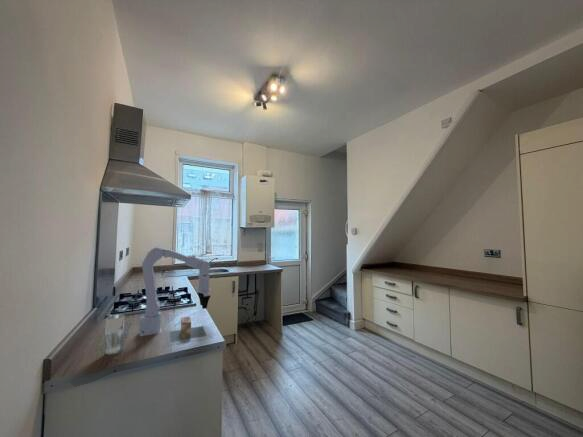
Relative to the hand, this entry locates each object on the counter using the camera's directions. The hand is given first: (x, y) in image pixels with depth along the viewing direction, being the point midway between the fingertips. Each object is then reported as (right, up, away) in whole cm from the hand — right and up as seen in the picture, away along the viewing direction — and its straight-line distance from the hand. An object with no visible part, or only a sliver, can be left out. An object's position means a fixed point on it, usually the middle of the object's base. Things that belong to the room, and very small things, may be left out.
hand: (203, 306), depth 138 cm
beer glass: (-28, -9, -31) cm, 43 cm away
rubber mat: (-3, -9, -14) cm, 17 cm away
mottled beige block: (-4, -9, -14) cm, 17 cm away
